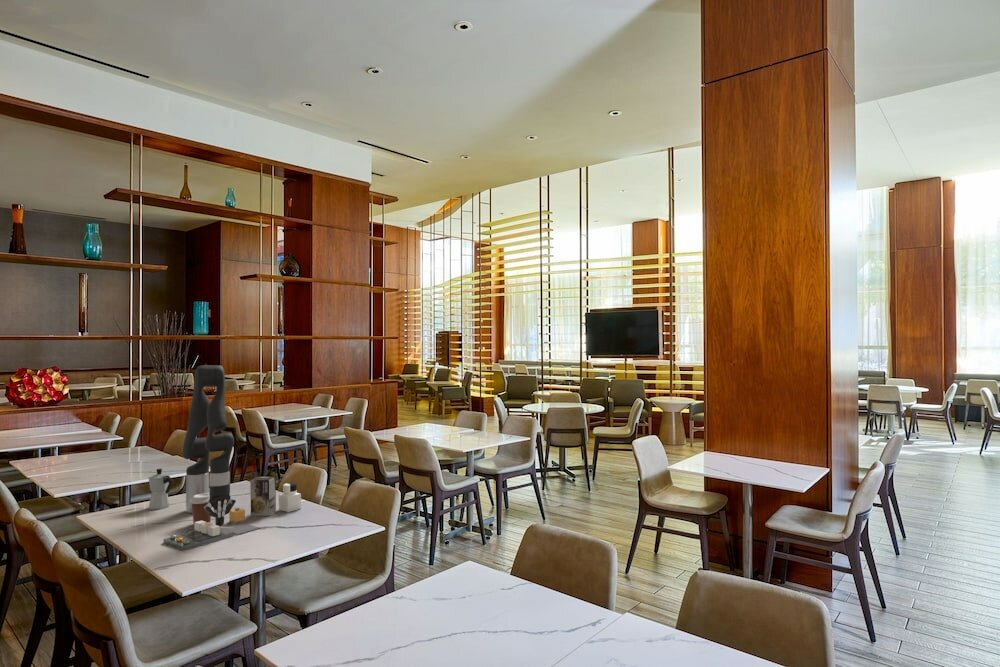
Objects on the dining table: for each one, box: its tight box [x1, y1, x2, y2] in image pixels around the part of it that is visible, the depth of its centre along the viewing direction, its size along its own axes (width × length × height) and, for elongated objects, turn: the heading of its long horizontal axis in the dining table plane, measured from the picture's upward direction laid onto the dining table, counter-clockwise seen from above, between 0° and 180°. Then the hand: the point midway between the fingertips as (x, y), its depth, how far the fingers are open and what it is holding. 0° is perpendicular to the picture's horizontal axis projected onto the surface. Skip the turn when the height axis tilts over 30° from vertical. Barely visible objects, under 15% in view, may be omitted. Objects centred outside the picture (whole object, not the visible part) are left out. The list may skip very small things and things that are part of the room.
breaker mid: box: [201, 522, 214, 534], centre depth 229 cm, size 4×3×3 cm
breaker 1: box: [194, 520, 206, 532], centre depth 232 cm, size 4×3×3 cm
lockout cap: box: [228, 507, 246, 525], centre depth 249 cm, size 5×5×6 cm
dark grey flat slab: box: [162, 526, 235, 551], centre depth 226 cm, size 15×20×2 cm
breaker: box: [208, 524, 221, 536], centre depth 226 cm, size 4×3×3 cm
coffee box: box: [250, 476, 277, 517], centre depth 260 cm, size 9×6×16 cm
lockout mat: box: [226, 522, 261, 536], centre depth 238 cm, size 10×10×1 cm
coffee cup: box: [190, 493, 213, 527], centre depth 246 cm, size 9×9×12 cm
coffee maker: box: [147, 468, 174, 511], centre depth 272 cm, size 15×9×18 cm, turn 67°
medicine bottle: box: [278, 482, 302, 513], centre depth 267 cm, size 7×7×12 cm
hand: (219, 526), depth 233 cm, fingers closed
